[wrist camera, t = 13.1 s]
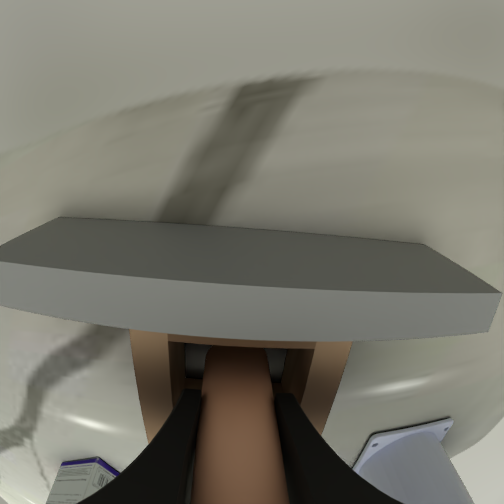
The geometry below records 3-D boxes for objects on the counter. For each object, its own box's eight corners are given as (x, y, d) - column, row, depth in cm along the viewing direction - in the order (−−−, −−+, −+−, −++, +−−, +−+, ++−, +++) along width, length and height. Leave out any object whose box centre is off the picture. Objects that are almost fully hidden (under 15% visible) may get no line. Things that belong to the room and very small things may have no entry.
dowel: (263, 385, 14) (282, 538, 6) (204, 382, 14) (191, 536, 6) (271, 338, 13) (302, 506, 6) (206, 334, 13) (185, 505, 5)
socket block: (301, 400, 17) (314, 452, 13) (162, 393, 16) (149, 445, 12) (329, 273, 14) (359, 315, 10) (153, 261, 14) (126, 301, 10)
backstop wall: (417, 274, 15) (487, 331, 9) (60, 249, 13) (-14, 302, 8) (424, 244, 14) (502, 293, 8) (58, 217, 13) (-23, 258, 7)
